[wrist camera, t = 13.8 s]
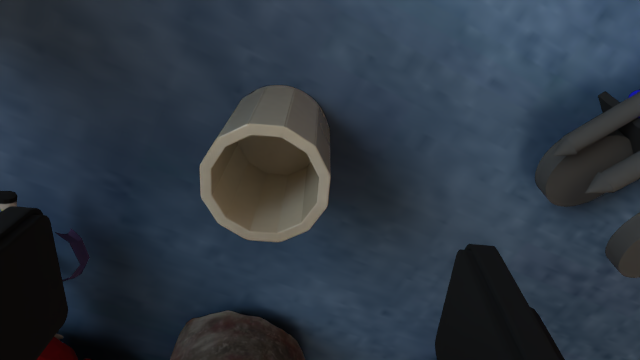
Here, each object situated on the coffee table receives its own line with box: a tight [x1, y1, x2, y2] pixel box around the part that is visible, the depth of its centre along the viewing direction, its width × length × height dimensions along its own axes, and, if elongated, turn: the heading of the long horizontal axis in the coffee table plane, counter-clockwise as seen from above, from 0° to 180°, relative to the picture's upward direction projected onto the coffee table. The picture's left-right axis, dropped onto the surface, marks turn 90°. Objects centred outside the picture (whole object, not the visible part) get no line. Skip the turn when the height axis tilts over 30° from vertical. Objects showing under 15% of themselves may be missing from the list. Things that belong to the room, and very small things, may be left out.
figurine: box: [0, 191, 92, 360], centre depth 22 cm, size 6×8×15 cm
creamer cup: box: [200, 85, 331, 242], centre depth 18 cm, size 4×4×6 cm
